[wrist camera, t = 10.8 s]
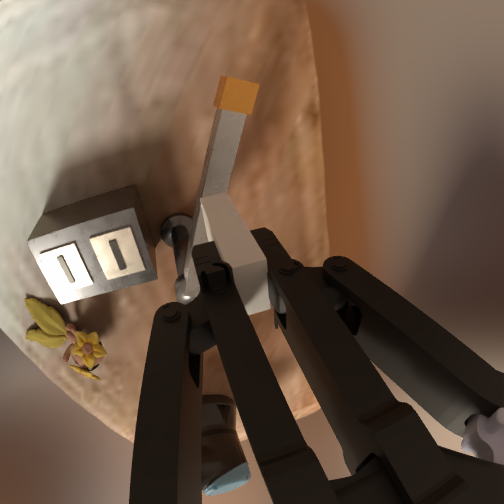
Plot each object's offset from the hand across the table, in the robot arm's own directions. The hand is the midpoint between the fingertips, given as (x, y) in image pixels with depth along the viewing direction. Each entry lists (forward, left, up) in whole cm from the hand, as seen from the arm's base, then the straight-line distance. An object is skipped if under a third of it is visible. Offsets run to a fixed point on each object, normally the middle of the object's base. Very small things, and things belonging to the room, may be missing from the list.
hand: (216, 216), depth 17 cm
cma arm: (-4, -1, -10) cm, 11 cm away
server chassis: (-10, +14, -22) cm, 28 cm away
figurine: (-25, +27, -22) cm, 43 cm away
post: (-13, +3, -22) cm, 26 cm away
